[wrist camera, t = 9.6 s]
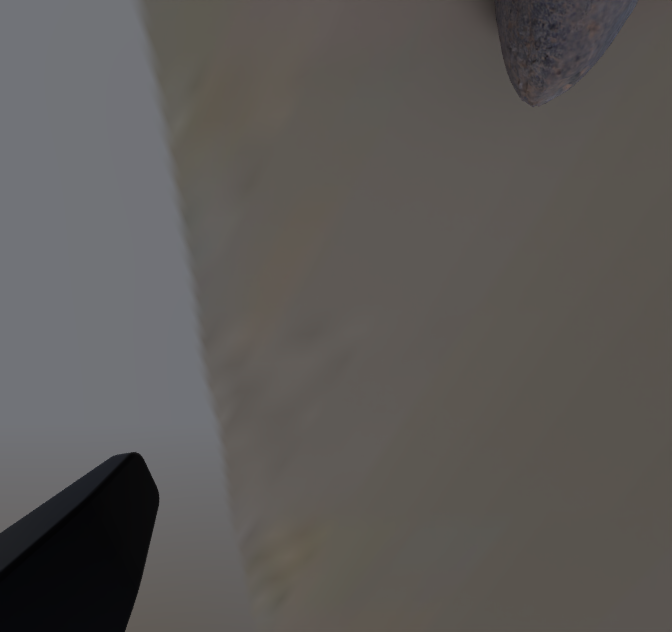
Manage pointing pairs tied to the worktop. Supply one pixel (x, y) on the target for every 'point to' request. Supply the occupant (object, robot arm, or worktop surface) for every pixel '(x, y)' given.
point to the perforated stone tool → (555, 41)
